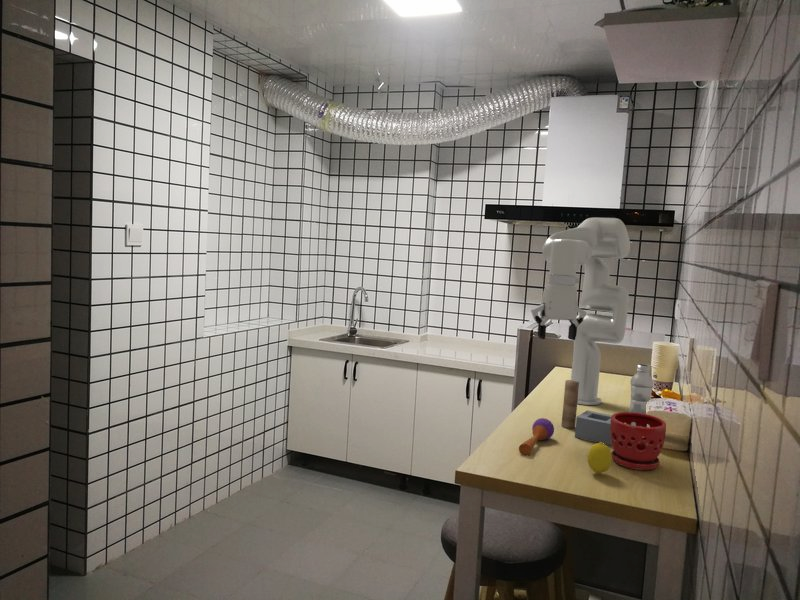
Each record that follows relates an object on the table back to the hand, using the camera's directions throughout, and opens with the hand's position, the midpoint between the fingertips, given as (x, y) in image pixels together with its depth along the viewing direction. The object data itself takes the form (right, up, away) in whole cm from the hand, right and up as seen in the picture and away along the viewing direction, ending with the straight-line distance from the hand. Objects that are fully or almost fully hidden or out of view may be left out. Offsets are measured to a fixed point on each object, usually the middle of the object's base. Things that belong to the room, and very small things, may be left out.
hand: (556, 338), depth 180 cm
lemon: (+1, -31, -34) cm, 46 cm away
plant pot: (+13, -31, -25) cm, 42 cm away
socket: (+11, -28, -4) cm, 30 cm away
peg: (+5, -27, +5) cm, 28 cm away
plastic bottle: (+27, -28, +7) cm, 40 cm away
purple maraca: (-9, -28, -14) cm, 33 cm away
